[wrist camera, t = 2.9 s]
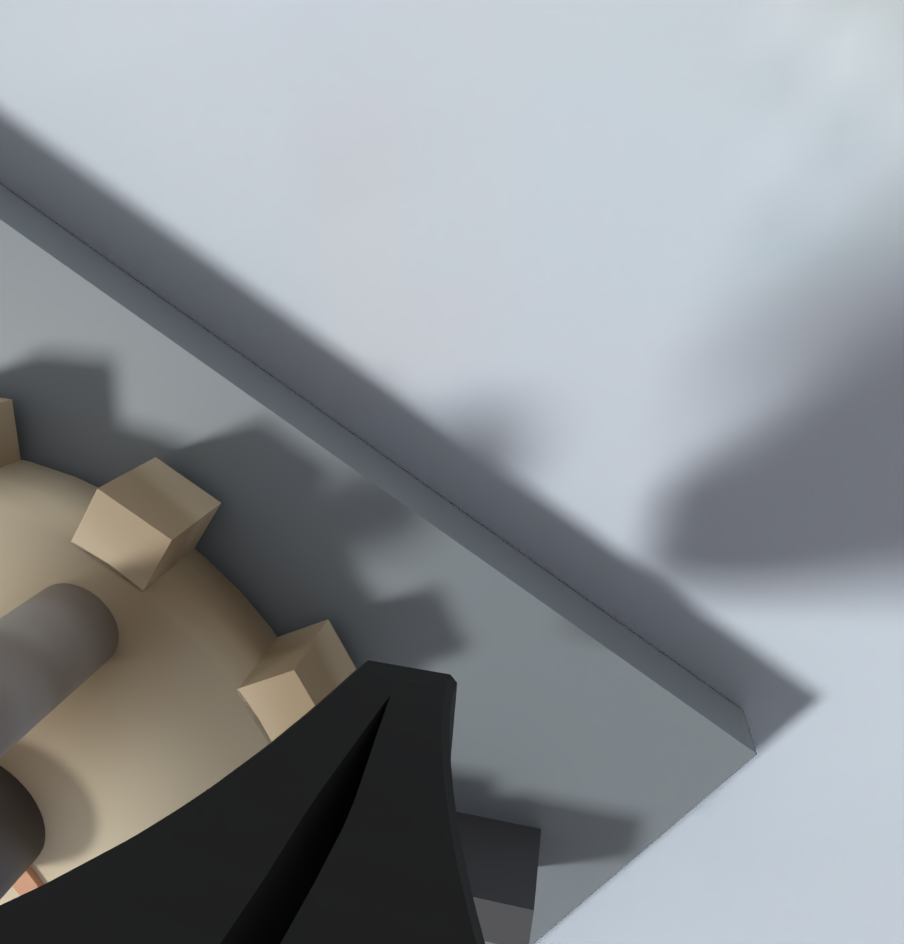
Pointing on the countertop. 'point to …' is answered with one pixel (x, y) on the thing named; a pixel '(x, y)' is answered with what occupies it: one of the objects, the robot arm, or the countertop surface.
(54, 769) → the sprocket
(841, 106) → the countertop surface
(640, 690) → the base board
